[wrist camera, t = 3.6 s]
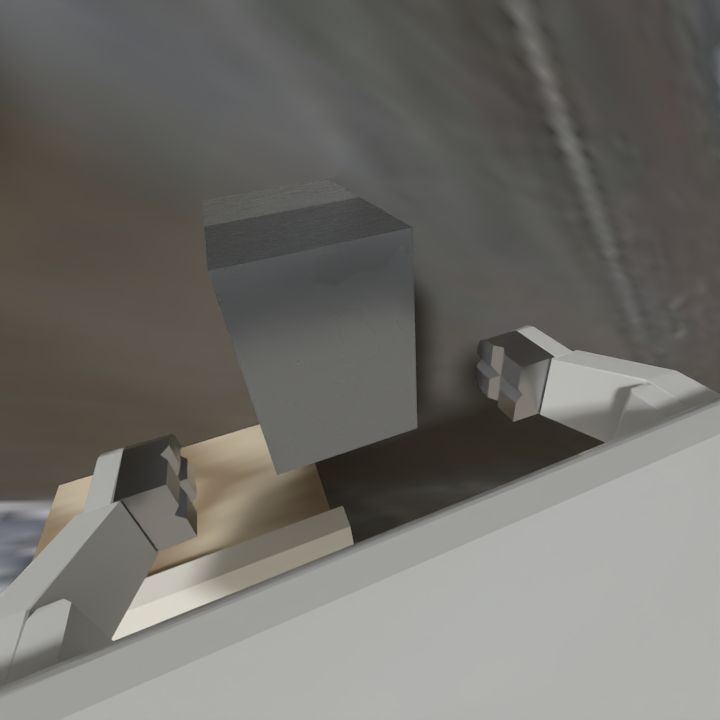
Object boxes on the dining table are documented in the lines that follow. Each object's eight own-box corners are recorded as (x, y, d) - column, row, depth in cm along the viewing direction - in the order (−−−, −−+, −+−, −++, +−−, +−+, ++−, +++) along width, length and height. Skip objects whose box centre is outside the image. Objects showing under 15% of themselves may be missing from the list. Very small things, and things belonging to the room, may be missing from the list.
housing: (327, 178, 16) (412, 227, 10) (347, 326, 20) (417, 428, 14) (202, 200, 15) (207, 271, 9) (249, 351, 19) (277, 475, 13)
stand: (304, 403, 22) (350, 526, 15) (336, 535, 29) (375, 655, 23) (42, 482, 19) (-35, 672, 13) (151, 606, 26) (137, 765, 20)
